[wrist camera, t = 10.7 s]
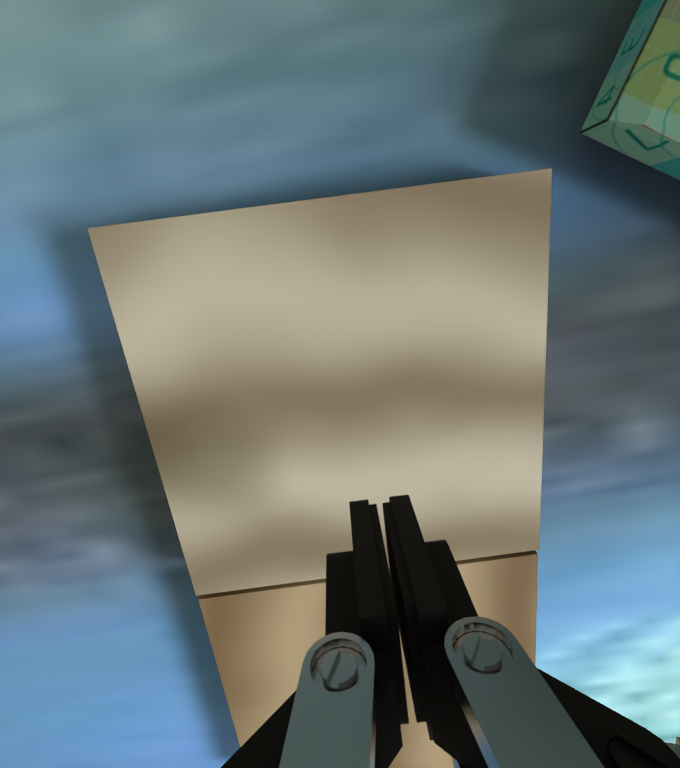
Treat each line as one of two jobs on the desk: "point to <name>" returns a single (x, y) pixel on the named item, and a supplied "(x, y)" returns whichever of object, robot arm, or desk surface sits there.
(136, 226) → the birch plank
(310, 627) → the oak floorboard
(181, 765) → the desk surface
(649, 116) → the puzzle game
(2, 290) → the desk surface
